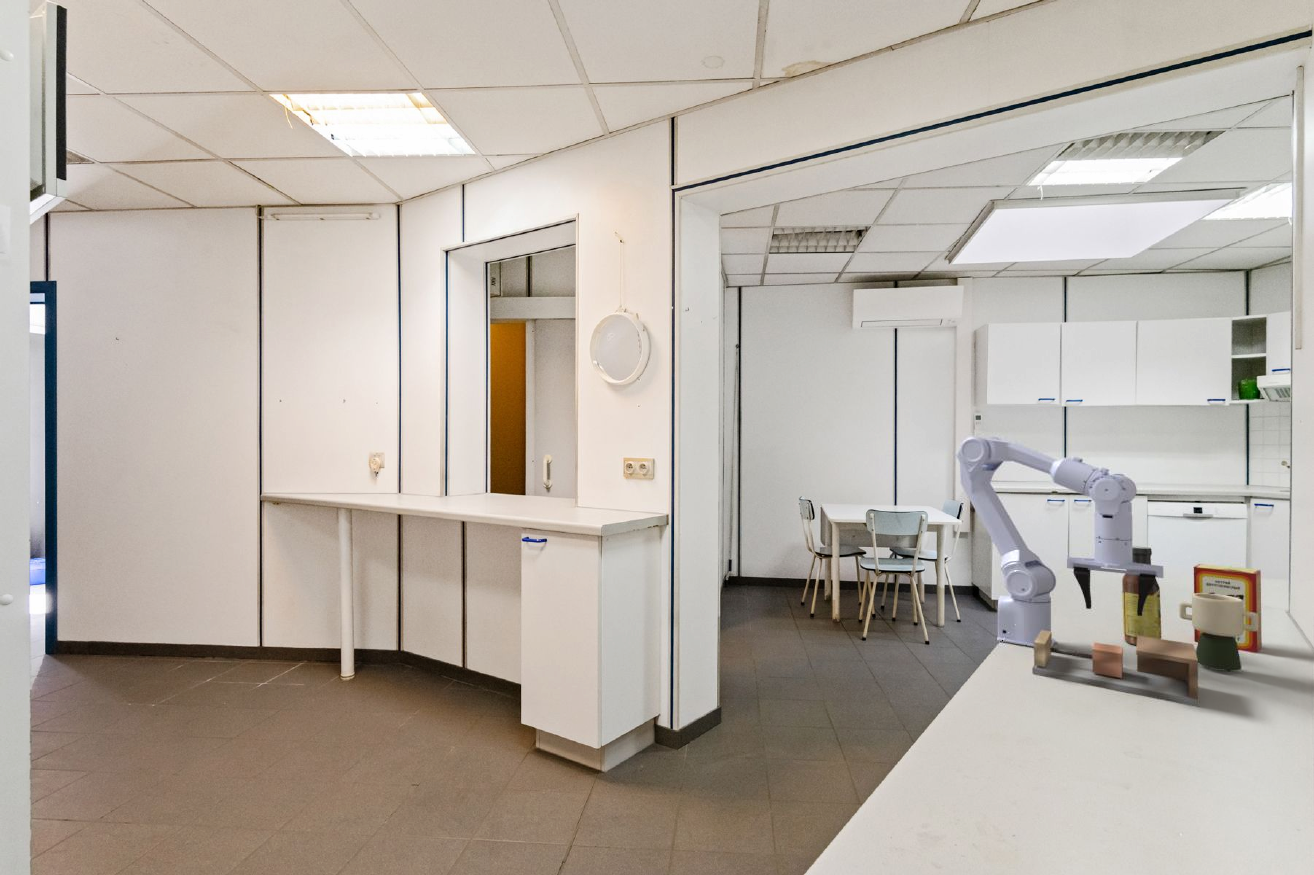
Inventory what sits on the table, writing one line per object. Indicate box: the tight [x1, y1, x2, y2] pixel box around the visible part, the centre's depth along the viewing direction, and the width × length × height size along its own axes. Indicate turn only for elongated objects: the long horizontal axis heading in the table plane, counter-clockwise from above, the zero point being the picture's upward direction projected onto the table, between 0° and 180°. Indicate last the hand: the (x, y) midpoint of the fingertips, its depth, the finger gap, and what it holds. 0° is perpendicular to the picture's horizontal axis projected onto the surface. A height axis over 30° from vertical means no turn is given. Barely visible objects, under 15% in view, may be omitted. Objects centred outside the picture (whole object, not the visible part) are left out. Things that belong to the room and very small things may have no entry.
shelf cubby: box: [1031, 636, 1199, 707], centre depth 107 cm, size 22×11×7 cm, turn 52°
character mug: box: [1178, 593, 1258, 672], centre depth 113 cm, size 11×7×13 cm, turn 36°
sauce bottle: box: [1121, 545, 1162, 647], centre depth 128 cm, size 6×6×20 cm
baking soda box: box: [1193, 563, 1263, 654], centre depth 129 cm, size 10×6×16 cm
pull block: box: [1033, 630, 1124, 678], centre depth 109 cm, size 12×10×4 cm
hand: (1113, 611), depth 116 cm, fingers open, 7 cm apart
